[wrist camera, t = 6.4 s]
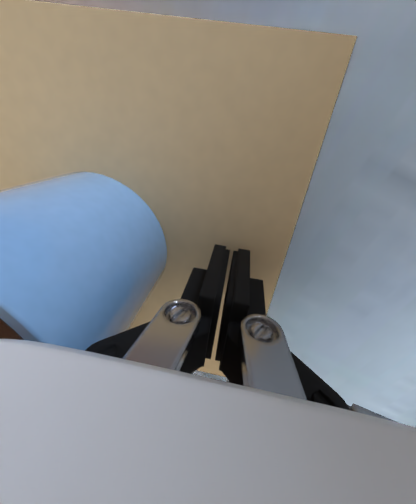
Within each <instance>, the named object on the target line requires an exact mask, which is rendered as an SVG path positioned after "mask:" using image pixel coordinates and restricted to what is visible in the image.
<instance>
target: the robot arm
mask: <svg viewBox="0 0 416 504" xmlns="http://www.w3.org/2000/svg"><path fill="white" fill-rule="evenodd" d="M229 254H230V250H228V249H226V246H222V245H217V244H215V246H214V249H213V252H212V255H211V258H210V262H209V265H208V268H207V270H206V269H201V268H195V267H194V268H193V270H192V272H191V274H190V277H189V279H188V282H187V284H186V286H185V289H184V291H183V294H182V296H181V298H180V299H174V300H170V301H168V302H166V303H165V304H164V305H163V306H162V307H161V308H160V309H159V311H158V312H157V313H156V315H155V316H154V317H153V319H152V320H151V321H150V322H147V323H145V324H142V325H139V326H137V327H134V328H131V329H129V330H126V331H124V332H121V333H118V334H116V335H113V336H110V337H108V338H105V339H103V340H100V341H98V342H96V343H94V344H92V345H91V346H89V347H88V348H87V349H86V350H85V351H84V350H79V349H74V348H69V347H64V346H59V345H54V344H48V343H41V342H35V341H29V340H18V339H0V504H416V427H412V426H408V425H405V424H402V423H398V422H396V421H393V420H391V419H389V418H386V417H384V416H382V415H379V414H377V413H375V412H372V411H370V410H368V409H365V408H363V407H361V406H358V405H356V404H354V403H353V404H352V406H349V405H347V404H346V403H345V401H344V400H343V399H342V398H341V397H340V396H339V394H338V393H337V392H335V391H334V390H333V389H332V388H331V387H330V386H329V385H328V384H326V383H325V382H324V381H323V380H322V379H321V378H320V377H319V376H317V375H316V374H315V373H314V372H313V371H312V370H311V369H310V368H308V367H307V366H306V365H305V364H304V363H303V362H302V361H301V360H300V359H298V358H297V357H296V356H295V355H294V354H293V353H292V352H291V351H290V349H289V347H288V344H287V341H286V338H285V335H284V332H283V330H282V328H281V326H280V325H279V324H278V323H277V322H276V321H275V320H273V319H272V318H270V317H268V316H266V310H265V298H264V285H263V280H260V279H254V278H250V250H245V249H238V251H233V256H232V262H231V267H230V272H229V278H228V283H227V288H226V293H225V299H224V305H223V311H222V318H221V324H220V331H219V337H218V343H217V350H216V356H215V360H216V361H220V365H219V370H220V371H222V372H223V374H224V375H225V376H226V377H227V382H225V381H220V380H216V379H211V378H207V377H203V376H198V375H194V374H193V371H195V370H197V369H199V368H200V367H204V363H205V358H207V359H211V355H212V350H213V344H214V339H215V333H216V328H217V322H218V317H219V311H220V306H221V300H222V294H223V288H224V283H225V277H226V271H227V265H228V259H229Z"/></svg>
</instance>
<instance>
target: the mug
mask: <svg viewBox="0 0 416 504" xmlns="http://www.w3.org/2000/svg"><path fill="white" fill-rule="evenodd" d="M166 261H167V246H166V241H165V237H164V233H163V230H162V228H161V226H160V223H159V221H158V220H157V218H156V216H155V214H154V213H153V211H152V210H151V209H150V208H149V206H148V205H147V204H146V203H145V202H144V201H143V200H142V198H141V197H140V196H138V195H137V194H136V193H135V192H134V191H133V190H131V189H130V188H128V187H127V186H125V185H124V184H122V183H120V182H118V181H116V180H115V179H113V178H110V177H107V176H105V175H101V174H97V173H93V172H72V173H67V174H63V175H59V176H55V177H51V178H47V179H43V180H39V181H35V182H31V183H27V184H23V185H19V186H15V187H11V188H7V189H3V190H0V339H18V340H29V341H35V342H41V343H48V344H54V345H59V346H64V347H69V348H74V349H79V350H84V351H85V350H86V349H87V348H88V347H89V346H91V345H92V344H94V343H96V342H98V341H100V340H103V339H105V338H108V337H110V336H113V335H116V334H118V333H121V332H124V331H126V330H129V329H130V328H131V326H132V325H133V323H134V321H135V320H136V318H137V317H138V315H139V313H140V312H141V310H142V308H143V307H144V305H145V303H146V302H147V300H148V298H149V297H150V295H151V293H152V292H153V290H154V289H155V287H156V285H157V284H158V282H159V280H160V279H161V277H162V275H163V273H164V270H165V266H166Z"/></svg>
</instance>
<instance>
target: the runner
mask: <svg viewBox="0 0 416 504" xmlns="http://www.w3.org/2000/svg"><path fill="white" fill-rule="evenodd" d="M356 38H357V36H352V35H343V34H334V33H325V32H315V31H306V30H297V29H288V28H279V27H269V26H260V25H251V24H242V23H233V22H223V21H214V20H205V19H196V18H187V17H177V16H168V15H159V14H150V13H141V12H131V11H122V10H113V9H104V8H95V7H85V6H76V5H67V4H58V3H49V2H39V1H30V0H0V190H3V189H7V188H11V187H15V186H19V185H23V184H27V183H31V182H35V181H39V180H43V179H47V178H51V177H55V176H59V175H63V174H67V173H72V172H93V173H97V174H101V175H105V176H107V177H110V178H113V179H115V180H116V181H118V182H120V183H122V184H124V185H125V186H127V187H128V188H130V189H131V190H133V191H134V192H135V193H136V194H137V195H138V196H140V197H141V198H142V200H143V201H144V202H145V203H146V204H147V205H148V206H149V208H150V209H151V210H152V211H153V213H154V214H155V216H156V218H157V220H158V221H159V223H160V226H161V228H162V230H163V233H164V237H165V241H166V246H167V261H166V266H165V270H164V273H163V275H162V277H161V279H160V280H159V282H158V284H157V285H156V287H155V289H154V290H153V292H152V293H151V295H150V297H149V298H148V300H147V302H146V303H145V305H144V307H143V308H142V310H141V312H140V313H139V315H138V317H137V318H136V320H135V321H134V323H133V325H132V326H131V328H134V327H137V326H139V325H142V324H145V323H147V322H150V321H151V320H152V319H153V317H154V316H155V315H156V313H157V312H158V311H159V309H160V308H161V307H162V306H163V305H164V304H165V303H166V302H168V301H170V300H174V299H180V298H181V296H182V294H183V291H184V289H185V286H186V284H187V282H188V279H189V277H190V274H191V272H192V270H193V268H194V267H195V268H201V269H206V270H207V268H208V265H209V262H210V258H211V255H212V252H213V249H214V246H215V244H217V245H222V246H226V249H228V250H230V254H229V259H228V265H227V271H226V277H225V283H224V288H223V294H222V300H221V306H220V311H219V317H218V322H217V328H216V333H215V339H214V344H213V350H212V355H211V359H207V358H205V363H204V367H200V368H199V369H197V370H198V371H203V372H207V373H211V374H215V375H220V376H224V377H226V376H225V375H224V374H223V372H222V371H220V370H219V365H220V361H216V360H215V356H216V350H217V343H218V337H219V331H220V324H221V318H222V311H223V305H224V299H225V293H226V288H227V283H228V278H229V272H230V267H231V262H232V256H233V251H238V249H245V250H250V278H254V279H260V280H263V285H264V298H265V310H266V315H267V312H268V309H269V306H270V303H271V300H272V296H273V293H274V290H275V287H276V284H277V281H278V278H279V275H280V272H281V269H282V266H283V263H284V260H285V257H286V253H287V250H288V247H289V244H290V241H291V238H292V235H293V232H294V229H295V226H296V223H297V220H298V217H299V213H300V210H301V207H302V204H303V201H304V198H305V195H306V192H307V189H308V186H309V183H310V180H311V177H312V174H313V170H314V167H315V164H316V161H317V158H318V155H319V152H320V149H321V146H322V143H323V140H324V137H325V134H326V131H327V127H328V124H329V121H330V118H331V115H332V112H333V109H334V106H335V103H336V100H337V97H338V94H339V91H340V88H341V84H342V81H343V78H344V75H345V72H346V69H347V66H348V63H349V60H350V57H351V54H352V51H353V48H354V45H355V41H356ZM131 328H130V329H131Z"/></svg>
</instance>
